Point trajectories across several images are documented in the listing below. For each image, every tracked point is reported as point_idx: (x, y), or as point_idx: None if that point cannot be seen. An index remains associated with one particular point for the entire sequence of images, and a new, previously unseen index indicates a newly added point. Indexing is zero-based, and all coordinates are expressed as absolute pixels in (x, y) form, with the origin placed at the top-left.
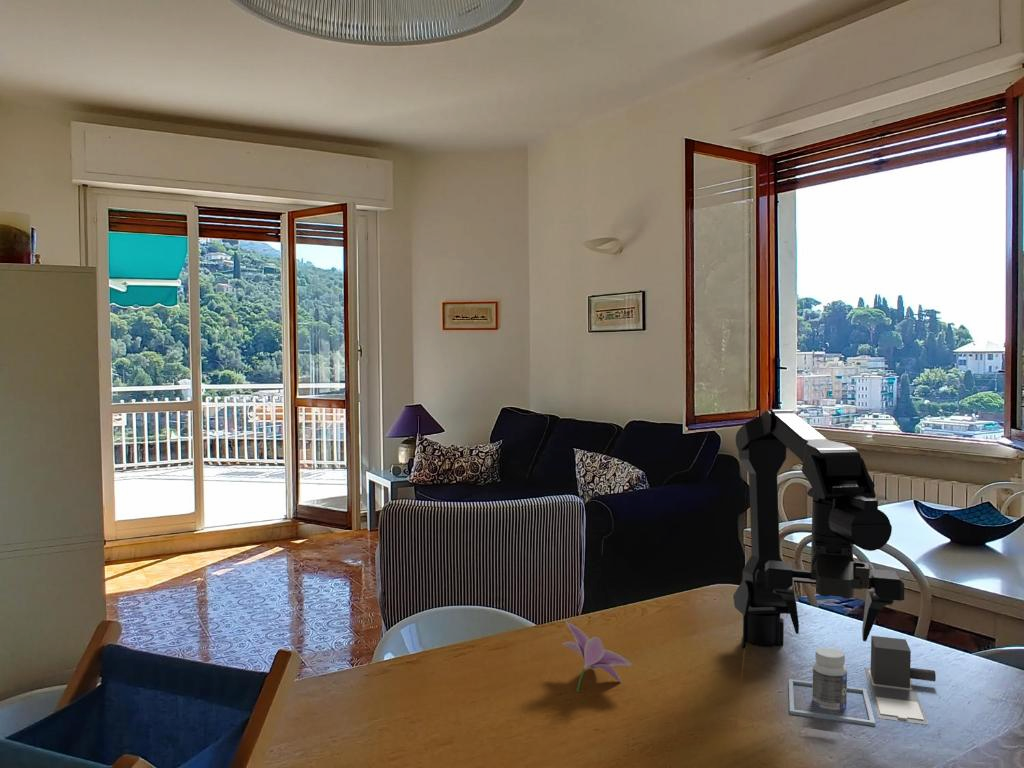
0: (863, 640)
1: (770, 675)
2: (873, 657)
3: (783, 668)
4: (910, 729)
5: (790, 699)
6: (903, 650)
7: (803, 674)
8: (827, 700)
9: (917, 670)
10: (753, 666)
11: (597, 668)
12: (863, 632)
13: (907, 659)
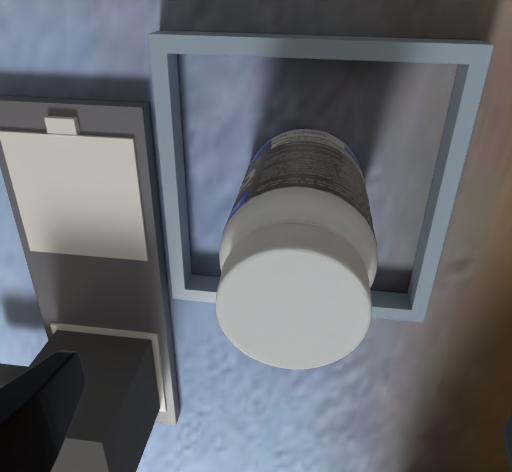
0: (72, 352)
1: (462, 365)
2: (128, 421)
3: (406, 410)
4: (48, 88)
5: (460, 159)
6: None
7: (351, 384)
8: (317, 146)
9: None
10: (503, 411)
11: None
12: (42, 396)
13: None
